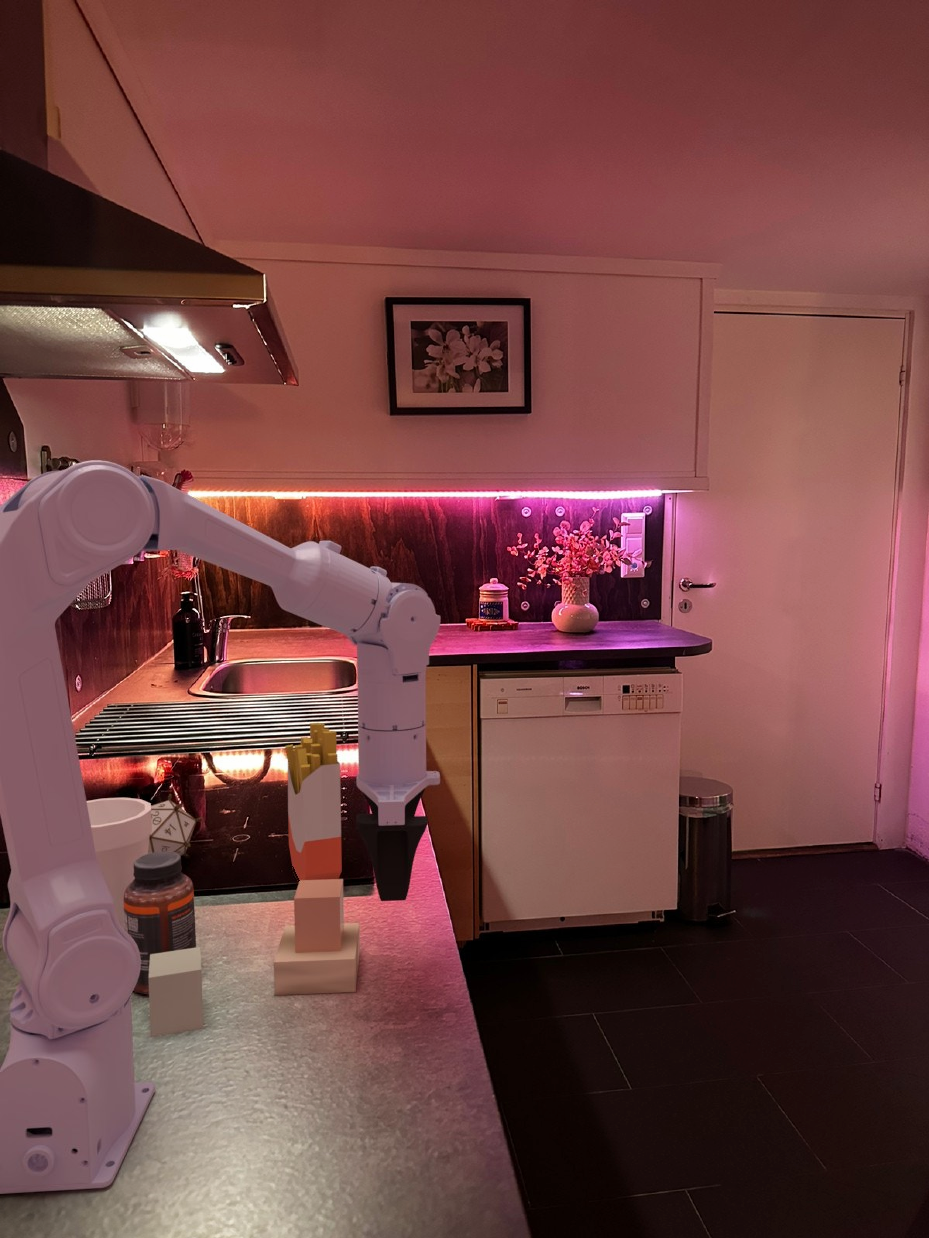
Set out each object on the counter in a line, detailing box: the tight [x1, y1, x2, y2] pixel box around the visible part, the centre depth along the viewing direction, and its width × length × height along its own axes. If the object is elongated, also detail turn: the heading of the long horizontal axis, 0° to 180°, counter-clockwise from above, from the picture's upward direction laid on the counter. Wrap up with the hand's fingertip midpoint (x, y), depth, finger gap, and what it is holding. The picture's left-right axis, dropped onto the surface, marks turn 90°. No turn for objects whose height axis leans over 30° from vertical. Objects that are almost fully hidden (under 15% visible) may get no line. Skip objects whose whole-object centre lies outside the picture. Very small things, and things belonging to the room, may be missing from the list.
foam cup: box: [86, 797, 152, 930], centre depth 82 cm, size 10×9×13 cm
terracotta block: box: [293, 878, 345, 953], centre depth 75 cm, size 4×4×5 cm
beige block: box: [148, 946, 204, 1038], centre depth 68 cm, size 4×4×5 cm
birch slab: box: [273, 922, 361, 996], centre depth 75 cm, size 7×7×3 cm
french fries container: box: [284, 722, 343, 880], centre depth 97 cm, size 5×11×18 cm, turn 22°
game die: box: [148, 793, 204, 858], centre depth 102 cm, size 9×8×10 cm
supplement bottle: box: [124, 851, 197, 995], centre depth 74 cm, size 6×6×11 cm
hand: (393, 880), depth 71 cm, fingers open, 7 cm apart
